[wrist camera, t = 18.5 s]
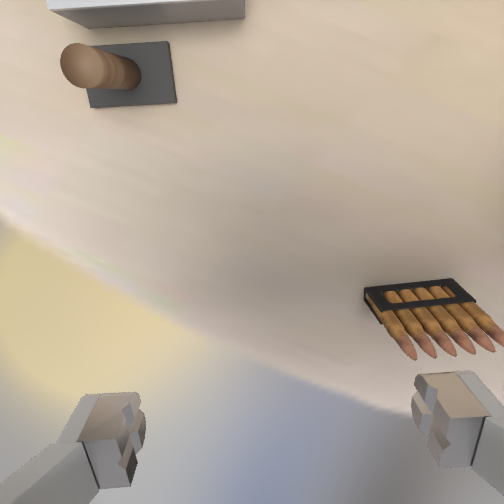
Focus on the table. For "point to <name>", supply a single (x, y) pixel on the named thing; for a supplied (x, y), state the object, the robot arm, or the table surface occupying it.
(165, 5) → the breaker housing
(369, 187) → the table surface
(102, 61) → the brown rounded rod
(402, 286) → the ammunition clip
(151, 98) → the rubber pad
